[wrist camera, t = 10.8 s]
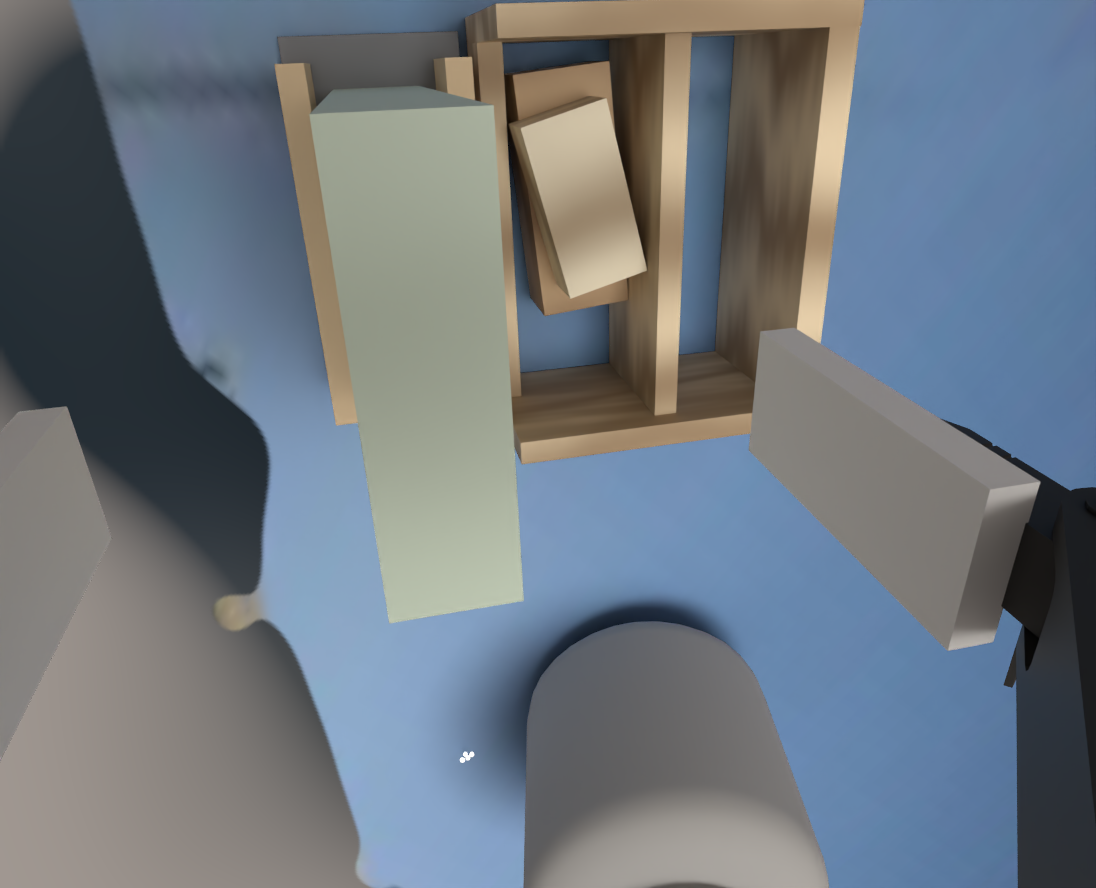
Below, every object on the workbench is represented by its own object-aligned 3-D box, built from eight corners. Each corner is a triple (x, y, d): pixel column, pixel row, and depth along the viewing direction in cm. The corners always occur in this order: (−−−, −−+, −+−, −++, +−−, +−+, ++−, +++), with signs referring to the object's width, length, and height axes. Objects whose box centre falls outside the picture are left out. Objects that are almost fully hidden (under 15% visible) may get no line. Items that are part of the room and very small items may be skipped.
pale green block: (333, 89, 32) (309, 114, 15) (418, 85, 33) (493, 105, 15) (372, 363, 37) (389, 623, 20) (445, 355, 38) (523, 600, 21)
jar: (450, 792, 51) (522, 1332, 29) (455, 609, 45) (551, 1120, 23) (714, 757, 56) (948, 1205, 34) (751, 586, 50) (1068, 999, 28)
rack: (465, 17, 32) (495, 3, 25) (762, 9, 35) (865, -6, 28) (492, 394, 40) (522, 464, 33) (735, 366, 42) (810, 425, 35)
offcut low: (498, 74, 34) (512, 75, 31) (586, 61, 35) (609, 60, 31) (529, 296, 39) (544, 315, 35) (606, 281, 39) (628, 299, 36)
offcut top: (508, 123, 32) (520, 128, 29) (588, 96, 32) (606, 98, 30) (556, 284, 35) (570, 298, 33) (628, 257, 35) (647, 270, 33)
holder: (278, 37, 31) (265, 32, 27) (456, 31, 33) (472, 25, 28) (339, 403, 38) (337, 446, 34) (483, 386, 40) (500, 426, 35)
